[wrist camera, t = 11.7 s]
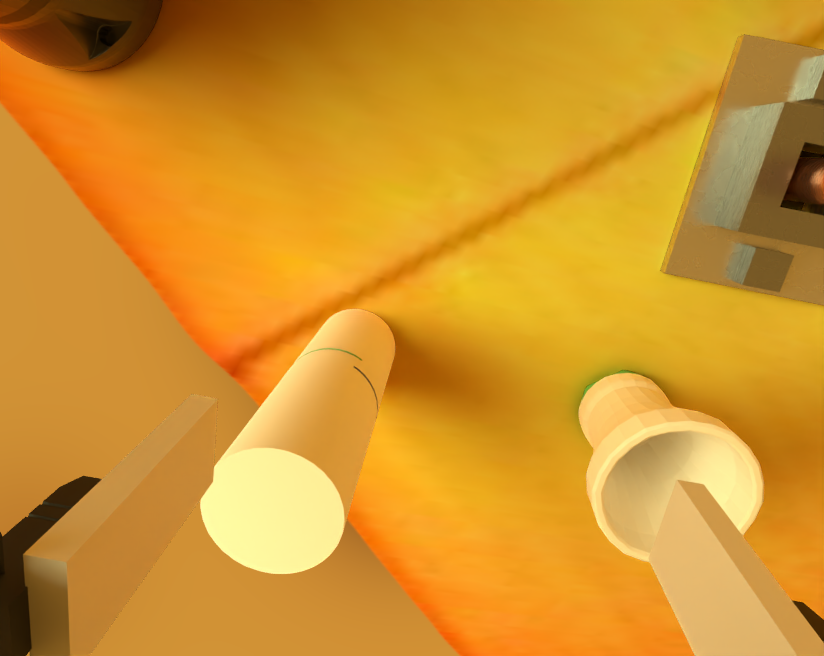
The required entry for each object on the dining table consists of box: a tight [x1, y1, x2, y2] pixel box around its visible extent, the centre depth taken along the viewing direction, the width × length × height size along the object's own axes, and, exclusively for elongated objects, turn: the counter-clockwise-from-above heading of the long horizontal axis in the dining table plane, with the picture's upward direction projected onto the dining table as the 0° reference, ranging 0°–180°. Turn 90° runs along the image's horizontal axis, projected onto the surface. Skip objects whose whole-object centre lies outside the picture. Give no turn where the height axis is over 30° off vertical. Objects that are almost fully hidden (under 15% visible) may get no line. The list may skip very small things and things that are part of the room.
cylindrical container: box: [200, 309, 396, 574], centre depth 39 cm, size 7×7×25 cm
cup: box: [578, 370, 764, 562], centre depth 44 cm, size 11×11×14 cm
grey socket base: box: [661, 34, 824, 305], centre depth 42 cm, size 14×18×5 cm
